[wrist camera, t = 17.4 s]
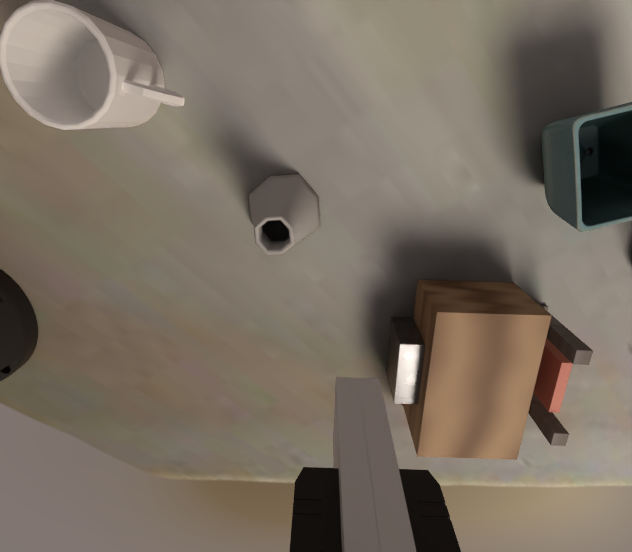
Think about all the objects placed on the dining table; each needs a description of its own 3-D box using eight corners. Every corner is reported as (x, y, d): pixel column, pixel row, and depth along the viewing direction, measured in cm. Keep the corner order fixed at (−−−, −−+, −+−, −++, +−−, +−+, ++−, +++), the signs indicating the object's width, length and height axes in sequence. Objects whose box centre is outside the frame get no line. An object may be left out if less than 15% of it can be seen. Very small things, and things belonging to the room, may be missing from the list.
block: (403, 405, 50) (419, 463, 42) (417, 279, 45) (439, 317, 36) (521, 409, 50) (562, 468, 42) (551, 283, 44) (604, 322, 36)
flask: (331, 229, 43) (334, 260, 34) (266, 254, 44) (251, 291, 35) (304, 161, 41) (299, 174, 31) (236, 189, 42) (211, 210, 32)
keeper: (522, 377, 47) (548, 412, 42) (532, 332, 45) (561, 362, 40) (531, 377, 47) (559, 412, 42) (541, 332, 45) (572, 363, 40)
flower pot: (618, 93, 38) (702, 85, 30) (619, 189, 41) (695, 207, 33) (519, 118, 39) (573, 118, 31) (526, 210, 42) (578, 234, 34)
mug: (199, 148, 40) (162, 157, 31) (72, 113, 39) (-5, 111, 30) (214, 57, 38) (179, 37, 28) (78, 17, 37) (-4, -17, 27)
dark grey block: (385, 370, 49) (394, 403, 43) (390, 316, 46) (400, 344, 41) (494, 373, 48) (516, 406, 43) (504, 319, 46) (530, 347, 40)
